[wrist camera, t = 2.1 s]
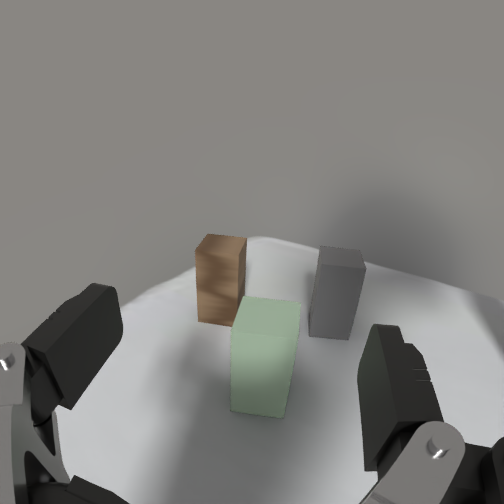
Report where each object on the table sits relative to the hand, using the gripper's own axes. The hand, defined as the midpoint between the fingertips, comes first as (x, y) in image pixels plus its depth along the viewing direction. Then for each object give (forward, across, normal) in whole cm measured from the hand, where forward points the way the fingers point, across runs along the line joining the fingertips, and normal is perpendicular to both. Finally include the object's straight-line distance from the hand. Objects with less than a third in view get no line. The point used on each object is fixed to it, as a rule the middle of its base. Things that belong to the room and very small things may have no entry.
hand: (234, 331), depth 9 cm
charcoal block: (+27, -7, +19) cm, 34 cm away
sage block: (+14, 0, +19) cm, 23 cm away
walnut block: (+27, +7, +19) cm, 34 cm away
